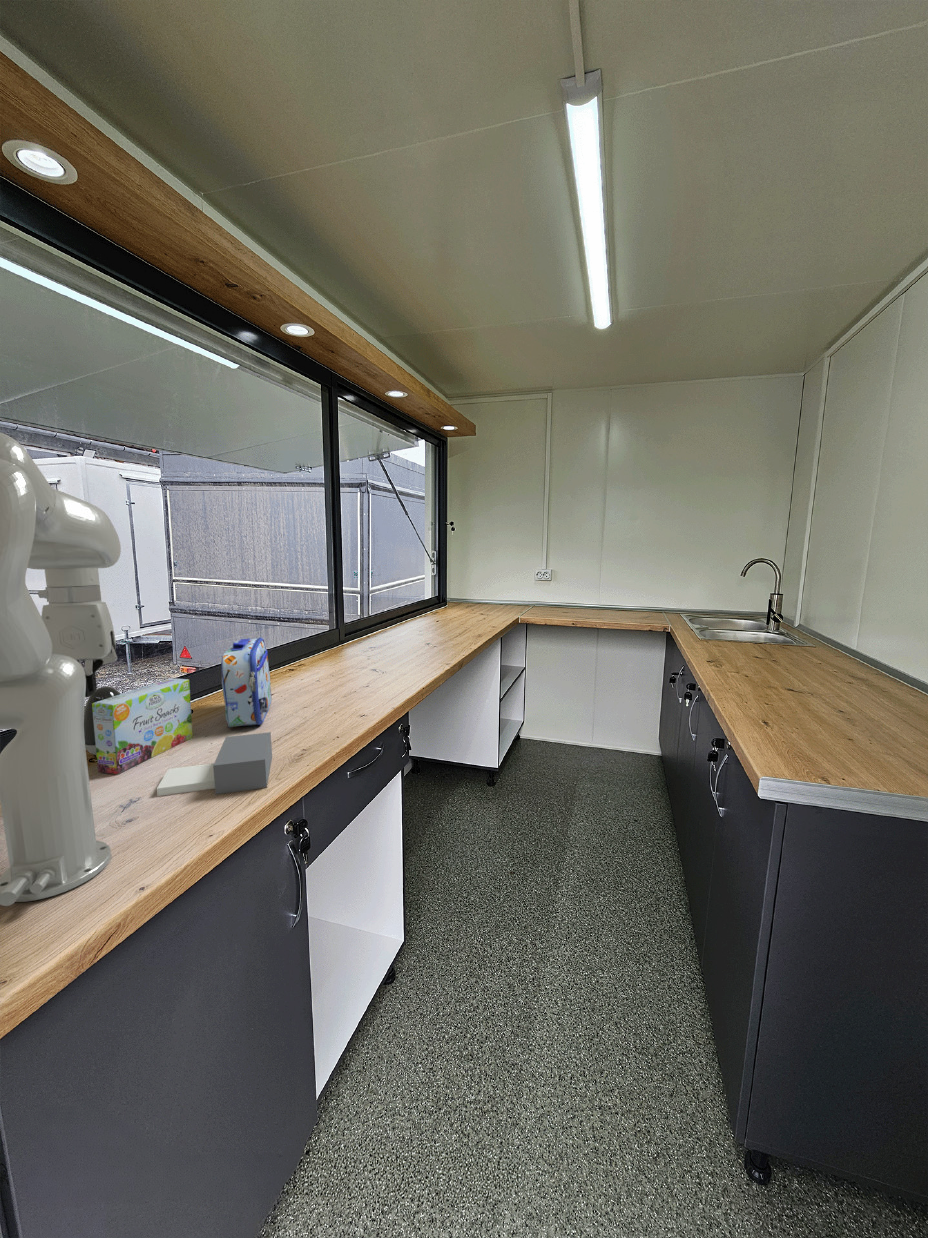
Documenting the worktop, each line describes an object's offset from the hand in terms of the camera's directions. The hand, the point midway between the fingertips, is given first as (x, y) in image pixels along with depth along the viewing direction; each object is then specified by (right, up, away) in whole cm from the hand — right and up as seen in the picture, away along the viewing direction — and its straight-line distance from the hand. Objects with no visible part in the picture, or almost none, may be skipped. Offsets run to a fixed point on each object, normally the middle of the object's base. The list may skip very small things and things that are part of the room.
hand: (86, 695), depth 92 cm
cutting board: (+18, -19, +8) cm, 27 cm away
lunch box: (+11, -13, +45) cm, 48 cm away
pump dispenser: (-11, -17, +22) cm, 30 cm away
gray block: (+24, -18, +10) cm, 32 cm away
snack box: (-1, -17, +21) cm, 27 cm away
